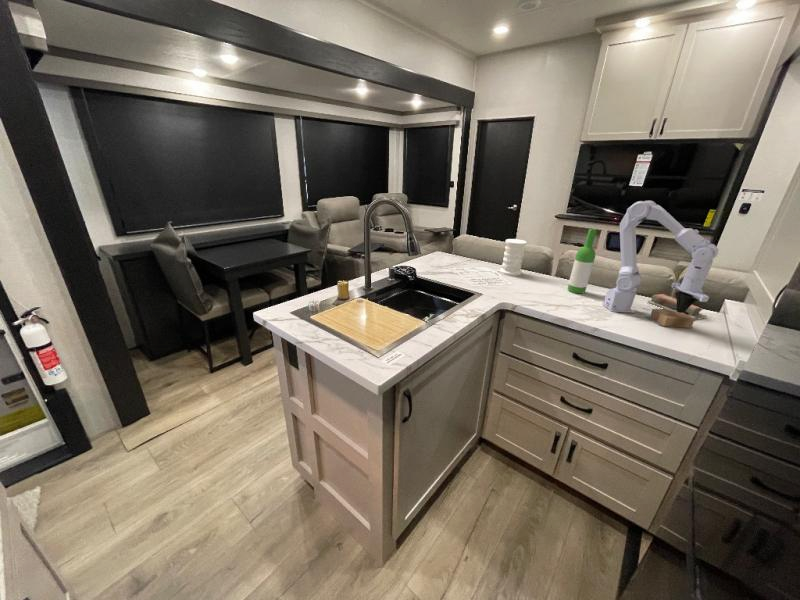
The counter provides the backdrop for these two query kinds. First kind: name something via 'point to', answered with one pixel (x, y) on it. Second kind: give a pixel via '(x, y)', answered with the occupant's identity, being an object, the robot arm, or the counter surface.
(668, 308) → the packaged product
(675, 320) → the brown box
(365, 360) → the counter surface
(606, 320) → the counter surface
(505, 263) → the decorative container
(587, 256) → the wine bottle
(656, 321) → the rubber mat
